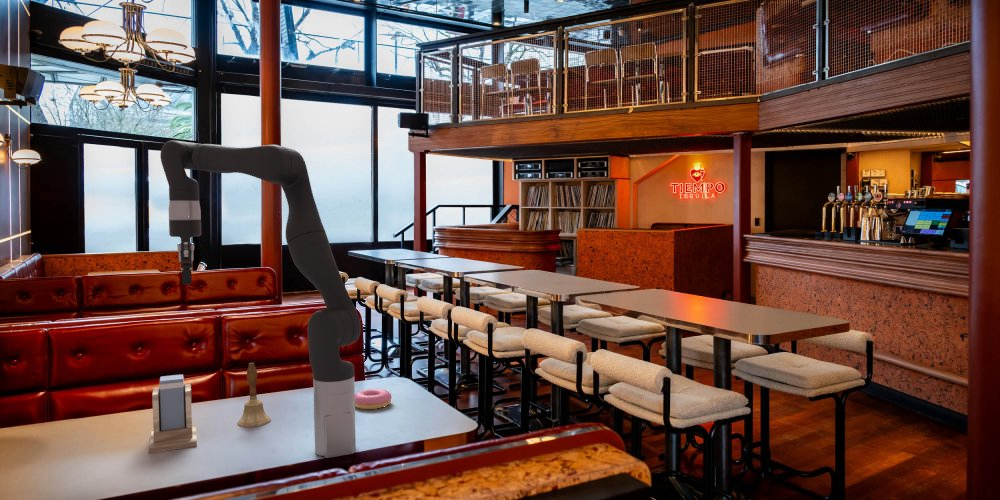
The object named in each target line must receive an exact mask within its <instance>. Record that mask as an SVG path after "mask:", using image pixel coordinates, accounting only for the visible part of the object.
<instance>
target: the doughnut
mask: <svg viewBox="0 0 1000 500" xmlns="http://www.w3.org/2000/svg"><path fill="white" fill-rule="evenodd" d="M391 402H392V394H391V392H390V391H388V390H387V389H382V388H367V389H363V390H359V391H358V392H356V393H355V408H358V409H361V410H365V409H374V410H378V409H377V408H380V409H382V408H381V407H384V406H386V407H387V405H388V404H389V405H390V403H391ZM389 405H388V406H389ZM384 408H385V407H384Z"/></svg>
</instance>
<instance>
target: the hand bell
mask: <svg viewBox="0 0 1000 500" xmlns="http://www.w3.org/2000/svg"><path fill="white" fill-rule="evenodd" d="M246 379H247V383H248V386H249V399H248V401H246V402H245V403H244V407H243V408H244V409H243V414H242V416H241V418H240V419H238V421H237V425H238V427H243V428H252V427H260V426H263V425H266V424H267V425H268V423H270V422H271V417H270V416H269V415H267V413H266V411H265V409H264V404H263V401H262V400H261V399H258V398H257V397H258V396H257V387H256V386H257V381H258V371H257V368H256V365H255V362H249V363H248V367H247V369H246Z"/></svg>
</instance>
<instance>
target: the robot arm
mask: <svg viewBox="0 0 1000 500" xmlns="http://www.w3.org/2000/svg"><path fill="white" fill-rule="evenodd" d="M160 161H161V165H162V169H163V171H164V174H165V178H166V181H167V184H168V198H169V199H168V200H169V204H168V227H169V228H168V230H169V231H168V233H169V236H170V237H172V238H175V237H179V238H180V243H177V251H178V261H179V263H180V270H181V278H182V279H181V280H182V281H181V284H182V285H183V286H185V285H188V286H189V285H192V280H193V279H192V270H193V263H192V262H194V250H195V243H194V242H193V243H191V239H192V237H200V236H201V235H202V218H201V217H202V216H201V215H202V214H201V211H202V210H201V205H200V188H199V182H198V180H196V179H194V178H191V177H190V176H188V174H187V172H186V170H193V171H204V172H208V173H216V174H233V173H235V174H237V173H239V174H243V175H248V176H251V177H253V178H257V179H259V180H262V181H264V182H267V183H269V184H273V185H274V184H275V185H280V186H281V188H282V190H283V193H284V196H285V200H286V202H287V207H288V215H287V221H286V226H285V240H286V244H287V246H288V247H287V248H288V250H289V254H290V256H291V259H292V261H293V263H294V265H295V267H296V268H297V269H298V271H299V272H300V273H301V274H302V275H303V276H304V277H305V278H306V279H307V280H308V281H309V282H310V283H311V284H312V285H313V286H314V287H315V288H316V290H317V292H319V294H320V295H321V298H322V299H323V302H324V305H325V309H321V310H316V311H314V312H313V313H312V314H311V316H310V317H309V320H308V323H307V342H308V343H307V345H308V354H309V355H308V356H309V359H308V360H309V365H310V367H311V370H312V375H313V376H312V377H313V383H312V384H313V423H314V425H313V427H314V429H313V430H314V454H316V455H317V456H322V457H325V459H328V458H329V459H330V458H335V457H341V456H345V455H346V456H348V455H353V454H354V451H356V445H357V443H356V442H357V441H356V406H355V394H356V393H355V387H356V386H355V366H354V364H353V363H352V362H350V361H346V360H342V359H341V357H340V349H339V348H341V347H345V346H350V345H353V344H354V343H356V342H357V341H358V340H359V339H360V336H361V332H362V326H361V321H360V317H359V314H358V312H357V310H356V307H355V306H354V303H353V301H352V298H351V297H350V294H349V292H348V290H347V288H346V286H345V283H344V280H343V278H342V276H341V272H340V271H339V268H338V265H337V262H336V259H335V257H334V254H333V251H332V247H331V244H330V240H329V239H328V236H327V233H326V230H325V227H324V224H323V223H322V219H321V216H320V213H319V209H318V206H317V204H316V200H315V197H314V194H313V190H312V186H311V181H310V177H309V172H308V169H307V164H306V161H305V159H304V157H303V155H302V154H301V152H298V151H297V150H295V149H293V148H290V147H286V146H283V145H278V144H267V145H266V144H265V145H258V146H249V147H246V146H245V147H238V146H237V147H236V146H231V145H230V146H229V145H222V144H212V143H211V144H210V143H203V144H202V143H196V142H187V141H181V140H168V141H166V142H165V143H164V144H163V145H162V147H161V150H160Z"/></svg>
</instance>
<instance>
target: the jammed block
mask: <svg viewBox="0 0 1000 500" xmlns="http://www.w3.org/2000/svg"><path fill="white" fill-rule="evenodd" d="M184 384H185V379H184V374H172V375H165V376H164V375H163V376H160V378H159V387H160V404H161V431H164V430H172V429H179V428H185V415H184Z"/></svg>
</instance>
